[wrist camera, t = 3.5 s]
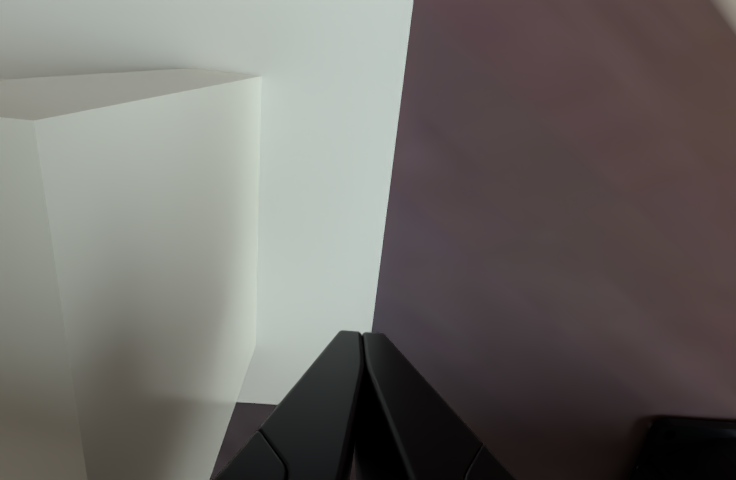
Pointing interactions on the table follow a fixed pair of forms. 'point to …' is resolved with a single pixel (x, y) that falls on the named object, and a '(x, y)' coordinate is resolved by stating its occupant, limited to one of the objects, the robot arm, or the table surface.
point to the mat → (267, 137)
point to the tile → (125, 271)
